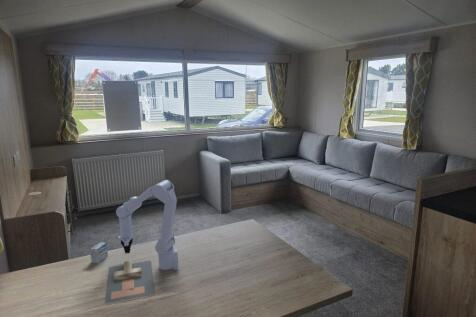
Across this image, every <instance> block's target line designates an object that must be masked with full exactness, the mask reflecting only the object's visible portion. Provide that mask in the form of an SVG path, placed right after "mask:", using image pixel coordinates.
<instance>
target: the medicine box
mask: <svg viewBox="0 0 476 317" xmlns="http://www.w3.org/2000/svg"><path fill="white" fill-rule="evenodd" d="M89 253H90V262H91V263H92V264H100V263H102V262H103V261H104V260H105V259H106V258H108V257H109V254H108V253H109V252H108V243H107V242H104V241H103V242H98V243H96V244H95V245H93V246H92V247H91V248H89Z"/></svg>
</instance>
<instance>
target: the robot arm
mask: <svg viewBox="0 0 476 317" xmlns="http://www.w3.org/2000/svg"><path fill="white" fill-rule="evenodd" d="M150 197H155V198H156V199H158V200H159V201H160V202H162V203H163V204H164V206H163V207H164V209H163V214H162V224H161V230H160V231H161V232H160V235H159V236H158V238H157V243H156V244H155V246H154V249H155V252H156V253H157V255H158V268H159V269H160V270H162V271H166V270H167V271H168V270H171V269H173V271H177V270H179V253H178V250H177V249H176V248H174V245H175V244H176V239H175V233H173V230H174V224H175V216H176V209H177V202H178V200H177V195H176V192H175V186H174V184H173V183H172V182H171V181H170V180H168V179H164V180H162V181H161V182H158V183H157V184H155V185H153V186H150V187H148V188H147V189H146V190H145V191H143V192H142V193H141V194H140V195H138V196H131V197H129V200H127V201H125V202H124V203H123V204H122V205H121V206H118V207H117V208H116V210H115V214H116V217H118V220H119V222H118V224H119V234H120V235H119V236H117V240H120V244H121V246H122V248H123V250H124V253H125V254H130V253H131V247H132V244H133V242H134V241H133V239H134V238H133V237H134V236H133V235H134V234H133V224H132V223H133V222H132V216H133V213H134V212H135V211H136V210H137V209H139V208H140V207H142V204H143V202H144V201H145V200H147V199H148V198H150Z"/></svg>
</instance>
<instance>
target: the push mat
mask: <svg viewBox="0 0 476 317" xmlns="http://www.w3.org/2000/svg"><path fill="white" fill-rule="evenodd" d="M140 267H141V273H142V276H139V277H133V278H127V279H121V280H116V281H114V272H116V271H122V270H124V264H120V265H114V266H109V267H108V271H107V272H108V274H107V281H106V289H105V290H106V291H105V298H104V304H108V306H109V305H111V303H113V305H115V304H116V302H118V301H119V302H118V304H120V303H121V301H122V300H125V301H123V303H125V302H126V300H128V299H130V300H128V302H129V301H131V299H133V301H134V300H135V301H136V298H138V299H141V298H140V297H143V299H144V298H146V296H148V298H150V297H151V295H153V297H155V295H154V294H156V290H155V281H154V275H153V274H154V273H153V266H152V260H145V261H139V262H132V269H134V268H140ZM114 302H115V303H114Z"/></svg>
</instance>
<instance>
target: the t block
mask: <svg viewBox="0 0 476 317" xmlns="http://www.w3.org/2000/svg"><path fill="white" fill-rule="evenodd" d="M132 263H133V262H132V260H127V261H124V262H123V265H124V270H122V271H116V272H114V281H116V280H121V279H127V278H133V277H139V276H142V273H141V267H140V268H134V269H132Z"/></svg>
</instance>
